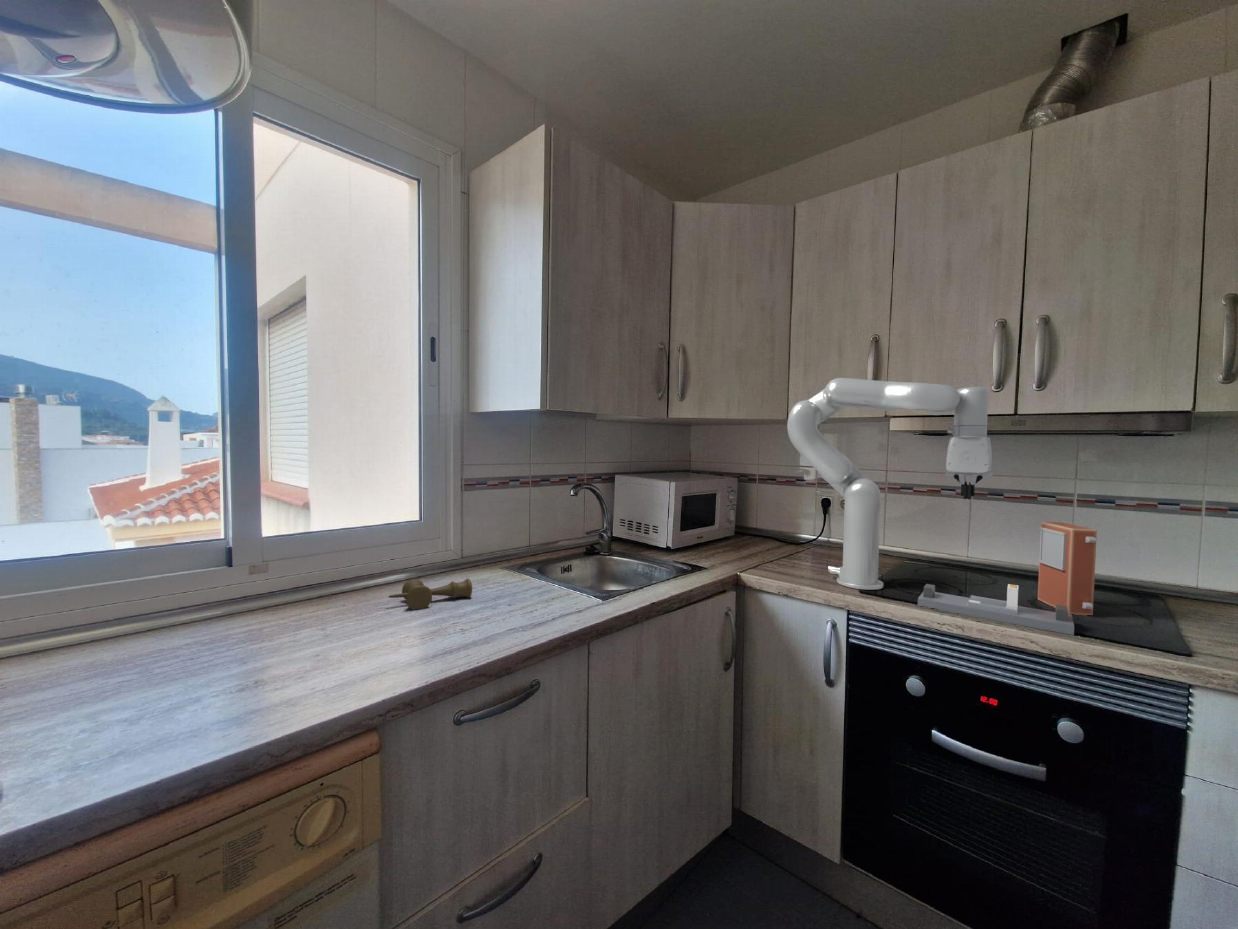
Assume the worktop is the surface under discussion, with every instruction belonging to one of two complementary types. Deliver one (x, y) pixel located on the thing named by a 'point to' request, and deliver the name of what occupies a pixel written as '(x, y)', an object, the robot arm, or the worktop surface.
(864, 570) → the robot arm
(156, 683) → the worktop surface
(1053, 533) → the orange rectangular block
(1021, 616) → the strip
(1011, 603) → the breaker handle
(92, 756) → the worktop surface
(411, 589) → the kendama
